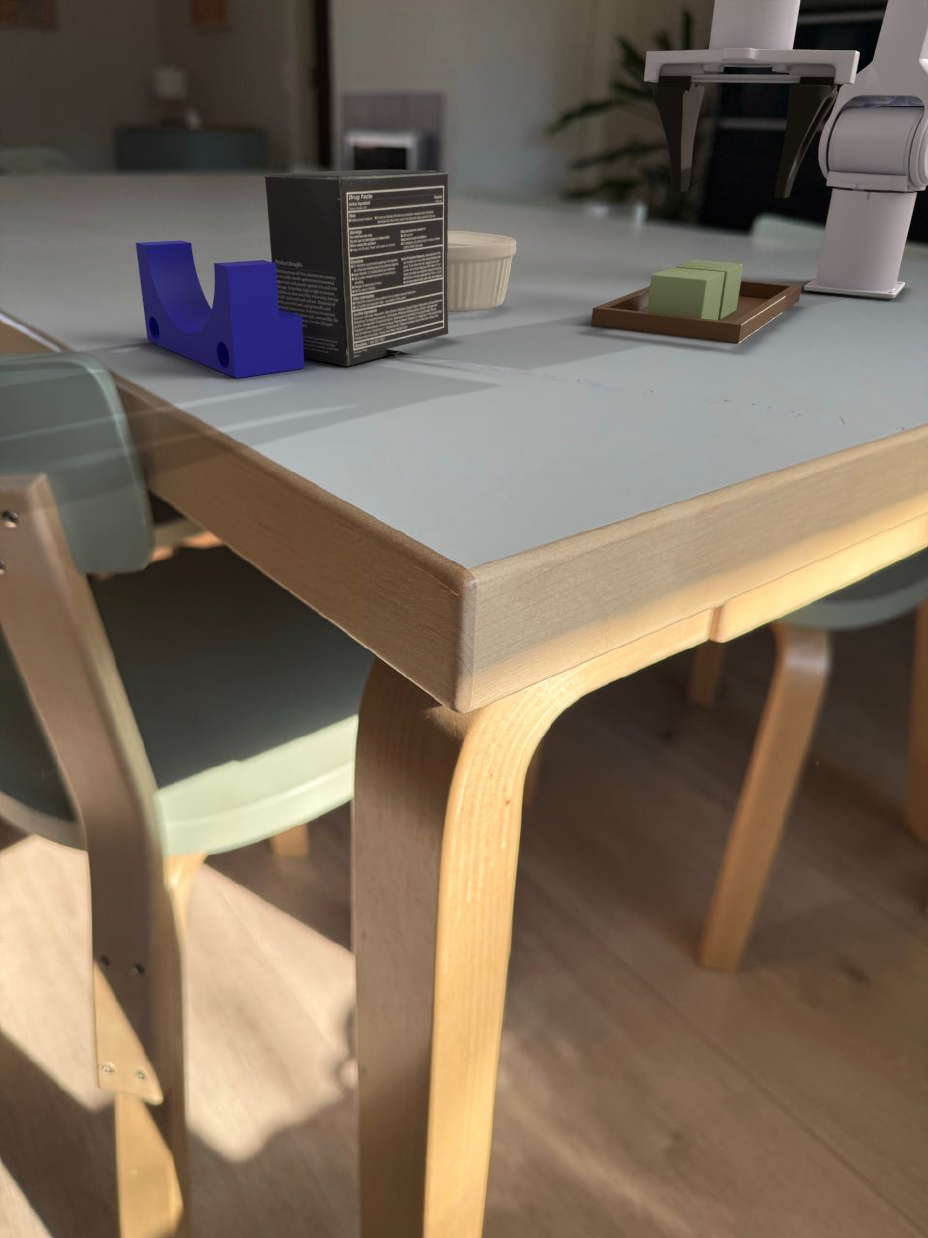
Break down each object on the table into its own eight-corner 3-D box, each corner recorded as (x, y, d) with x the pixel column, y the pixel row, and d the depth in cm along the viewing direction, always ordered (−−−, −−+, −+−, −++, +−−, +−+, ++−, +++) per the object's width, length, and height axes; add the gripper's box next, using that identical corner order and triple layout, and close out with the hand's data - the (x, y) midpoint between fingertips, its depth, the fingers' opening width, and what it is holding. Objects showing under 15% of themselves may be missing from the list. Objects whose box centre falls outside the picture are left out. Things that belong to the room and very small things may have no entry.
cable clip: (304, 368, 57) (299, 261, 54) (236, 378, 54) (226, 266, 51) (211, 333, 65) (202, 239, 62) (147, 340, 62) (135, 242, 59)
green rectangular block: (666, 315, 73) (671, 266, 71) (717, 321, 71) (725, 271, 69) (645, 325, 69) (650, 274, 67) (699, 331, 67) (706, 279, 65)
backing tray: (677, 294, 86) (680, 273, 85) (797, 307, 81) (802, 285, 80) (590, 333, 69) (592, 307, 68) (737, 352, 64) (741, 324, 63)
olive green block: (687, 305, 77) (693, 259, 75) (736, 310, 75) (743, 263, 74) (668, 314, 73) (674, 266, 72) (720, 319, 72) (727, 270, 70)
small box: (377, 328, 68) (375, 165, 63) (451, 341, 65) (455, 170, 60) (270, 352, 60) (258, 168, 55) (349, 368, 57) (343, 174, 52)
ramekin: (356, 315, 72) (354, 240, 70) (392, 293, 82) (391, 227, 79) (502, 324, 71) (505, 248, 68) (520, 300, 80) (524, 233, 78)
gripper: (639, -28, 65) (619, 191, 71) (864, -37, 59) (820, 203, 65) (670, -15, 70) (649, 186, 76) (878, -22, 64) (836, 197, 71)
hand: (729, 194), depth 71 cm, fingers open, 7 cm apart
